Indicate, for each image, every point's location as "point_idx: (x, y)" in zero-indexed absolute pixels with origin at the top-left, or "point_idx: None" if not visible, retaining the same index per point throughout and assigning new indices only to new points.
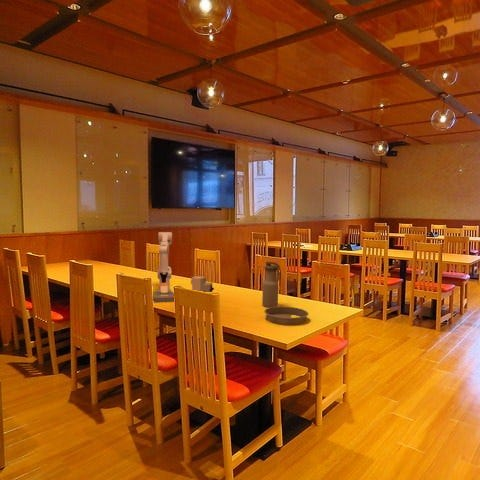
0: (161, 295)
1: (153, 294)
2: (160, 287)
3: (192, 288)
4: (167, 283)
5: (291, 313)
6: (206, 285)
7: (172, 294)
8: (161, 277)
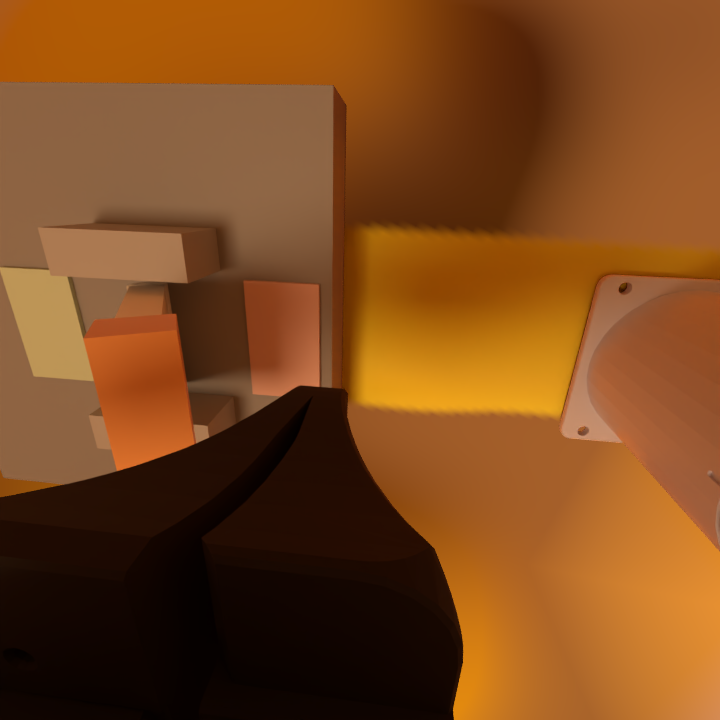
0: (36, 284)
1: (119, 150)
2: (685, 323)
3: None
4: None
5: None
6: None
7: None
8: (175, 460)
